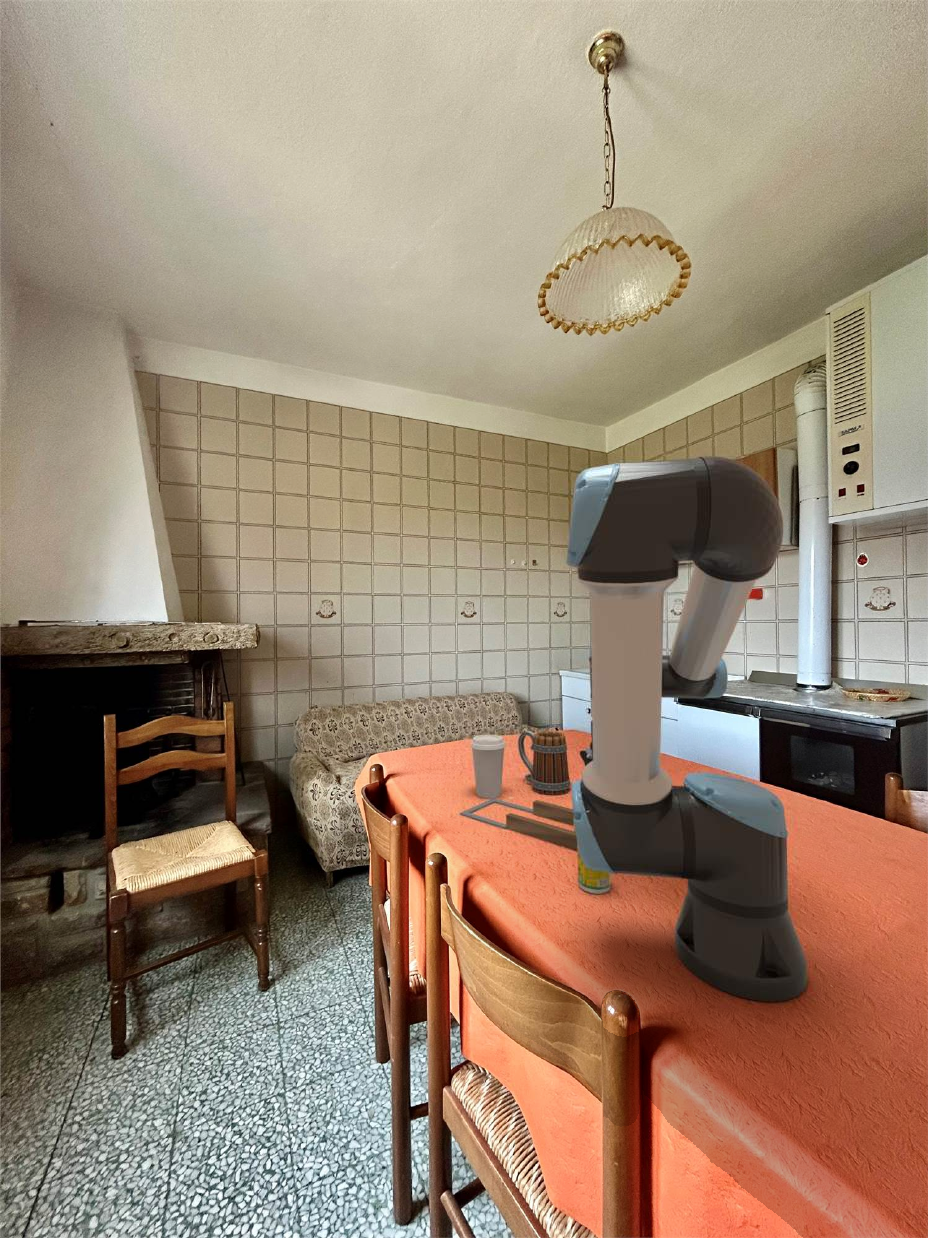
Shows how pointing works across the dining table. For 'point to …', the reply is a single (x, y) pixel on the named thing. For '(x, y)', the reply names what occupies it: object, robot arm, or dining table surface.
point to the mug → (546, 762)
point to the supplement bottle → (592, 878)
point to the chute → (543, 829)
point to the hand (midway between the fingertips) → (612, 837)
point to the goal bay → (468, 813)
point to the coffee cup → (488, 764)
